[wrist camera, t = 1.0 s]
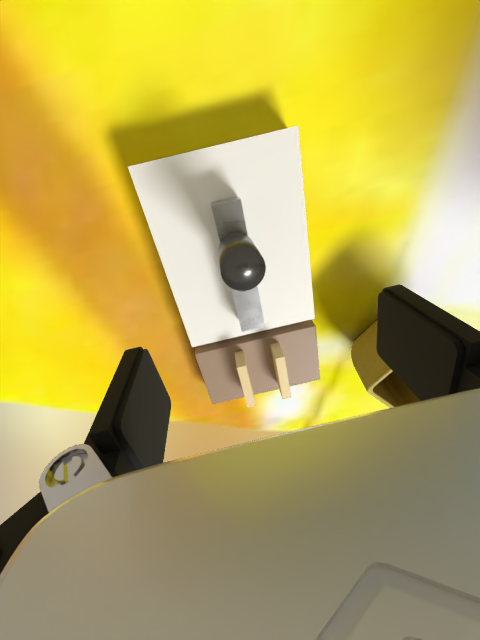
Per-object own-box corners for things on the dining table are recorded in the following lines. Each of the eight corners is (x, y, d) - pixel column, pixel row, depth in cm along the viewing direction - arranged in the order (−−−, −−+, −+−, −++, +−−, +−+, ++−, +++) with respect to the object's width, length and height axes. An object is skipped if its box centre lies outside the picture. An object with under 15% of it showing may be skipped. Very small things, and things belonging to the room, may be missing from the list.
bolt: (242, 195, 24) (255, 204, 18) (264, 314, 30) (280, 354, 23) (206, 203, 24) (206, 216, 18) (235, 321, 30) (243, 363, 23)
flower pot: (331, 344, 37) (365, 392, 29) (383, 294, 34) (437, 332, 26) (371, 373, 40) (412, 423, 32) (422, 330, 37) (480, 373, 29)
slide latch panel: (288, 130, 25) (309, 120, 20) (312, 364, 38) (328, 394, 33) (135, 167, 25) (117, 166, 20) (212, 388, 38) (212, 421, 33)
